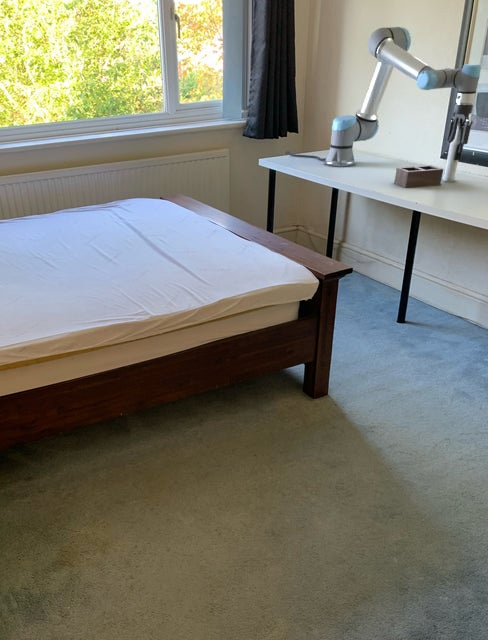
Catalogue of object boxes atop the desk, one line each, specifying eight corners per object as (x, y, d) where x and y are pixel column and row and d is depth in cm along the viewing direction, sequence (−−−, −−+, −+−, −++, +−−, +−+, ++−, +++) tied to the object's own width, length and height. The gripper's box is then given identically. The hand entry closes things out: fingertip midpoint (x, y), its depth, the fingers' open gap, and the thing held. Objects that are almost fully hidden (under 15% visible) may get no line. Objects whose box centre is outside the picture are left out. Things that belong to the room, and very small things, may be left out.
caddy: (394, 183, 279) (396, 167, 275) (428, 180, 282) (431, 165, 279) (405, 187, 271) (408, 171, 267) (440, 184, 274) (443, 169, 271)
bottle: (448, 182, 279) (460, 124, 265) (440, 180, 283) (451, 123, 269) (456, 180, 280) (469, 123, 267) (448, 178, 285) (460, 122, 271)
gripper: (445, 102, 271) (434, 156, 283) (469, 106, 256) (457, 162, 268) (459, 101, 272) (448, 155, 285) (484, 105, 257) (472, 161, 270)
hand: (453, 158), depth 276 cm, fingers closed on bottle, 5 cm apart
